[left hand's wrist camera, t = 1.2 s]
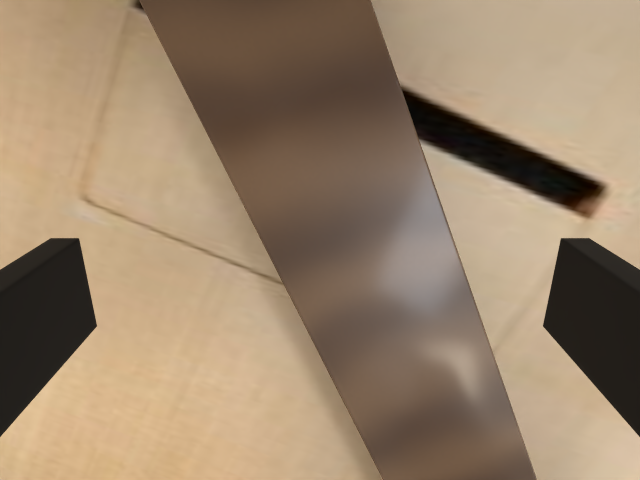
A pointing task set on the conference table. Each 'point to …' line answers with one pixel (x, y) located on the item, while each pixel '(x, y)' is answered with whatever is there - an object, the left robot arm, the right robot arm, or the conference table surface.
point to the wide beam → (350, 223)
